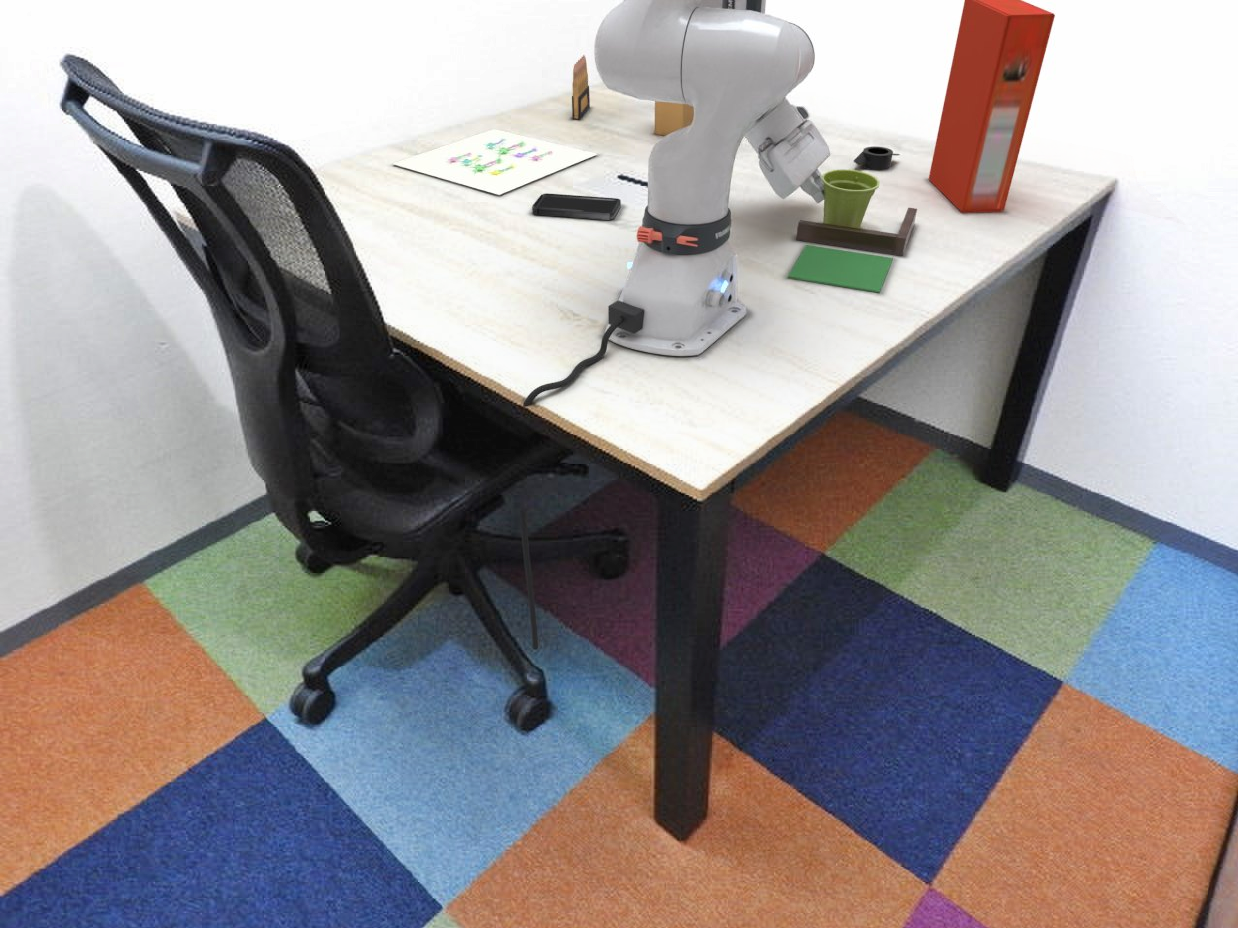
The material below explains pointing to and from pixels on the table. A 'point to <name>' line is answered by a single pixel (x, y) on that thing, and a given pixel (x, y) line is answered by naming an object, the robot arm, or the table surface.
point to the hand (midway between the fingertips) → (824, 198)
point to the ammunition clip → (580, 89)
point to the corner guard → (858, 235)
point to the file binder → (988, 101)
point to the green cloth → (841, 268)
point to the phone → (577, 206)
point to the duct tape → (875, 158)
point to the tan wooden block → (677, 114)
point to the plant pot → (847, 196)
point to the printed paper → (495, 160)
